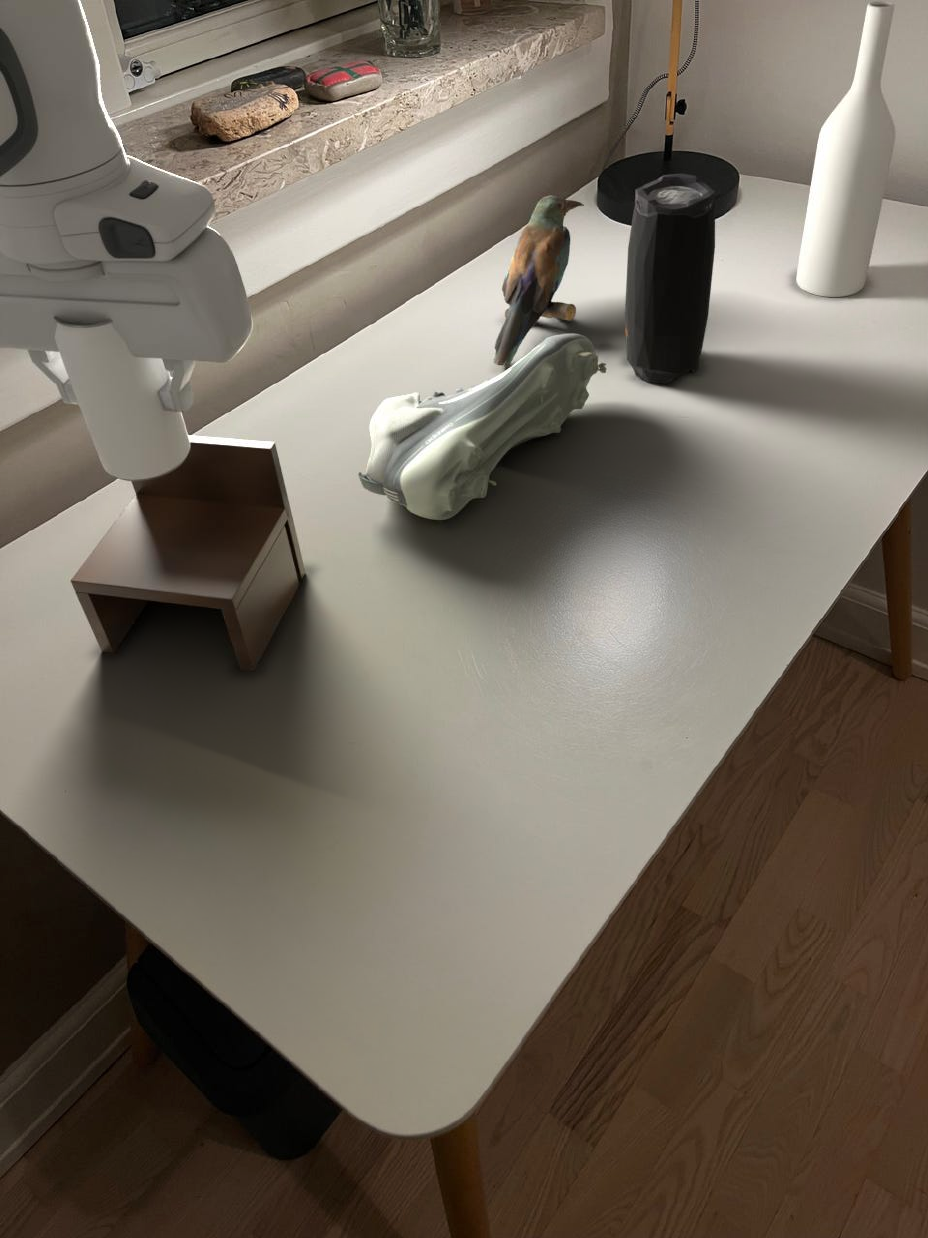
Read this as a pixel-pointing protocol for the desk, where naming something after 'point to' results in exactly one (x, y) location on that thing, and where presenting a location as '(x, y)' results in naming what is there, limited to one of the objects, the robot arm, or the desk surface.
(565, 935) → the desk surface
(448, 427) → the baseball cleat
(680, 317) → the portable speaker
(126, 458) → the can
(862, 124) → the bottle
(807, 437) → the desk surface
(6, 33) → the robot arm
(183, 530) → the wooden doll chair
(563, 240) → the bird figurine
